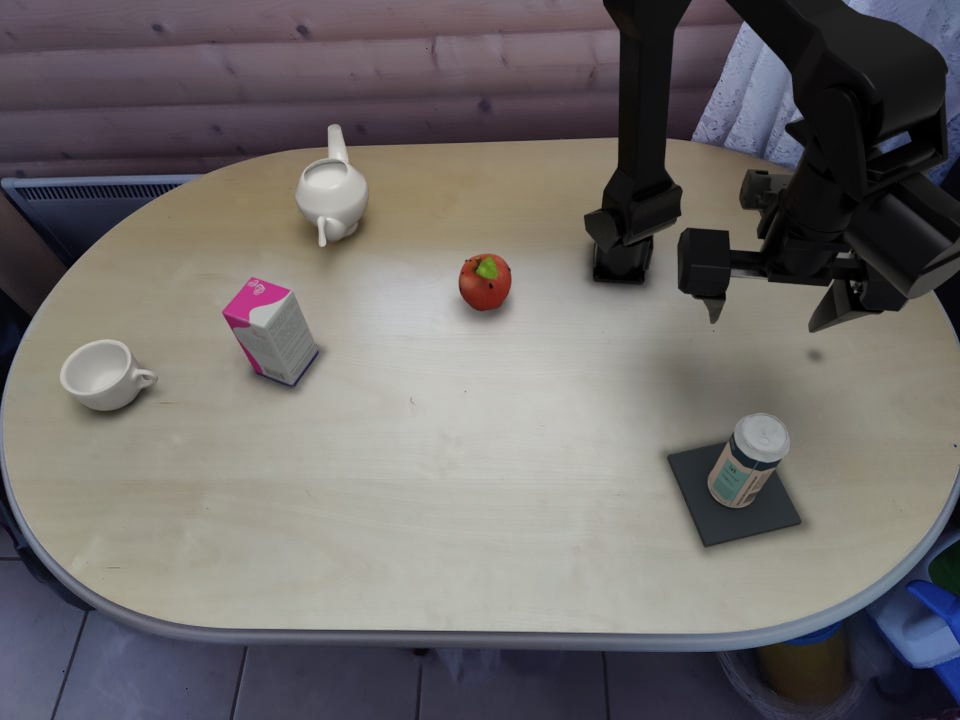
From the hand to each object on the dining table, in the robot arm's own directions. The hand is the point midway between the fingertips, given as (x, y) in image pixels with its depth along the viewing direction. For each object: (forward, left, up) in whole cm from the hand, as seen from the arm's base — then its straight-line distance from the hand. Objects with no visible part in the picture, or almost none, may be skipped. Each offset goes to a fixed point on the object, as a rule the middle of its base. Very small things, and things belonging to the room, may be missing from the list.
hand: (760, 324), depth 66 cm
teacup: (-69, -7, -13) cm, 71 cm away
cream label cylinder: (-1, -12, -12) cm, 17 cm away
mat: (0, -12, -13) cm, 17 cm away
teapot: (-50, +22, -13) cm, 57 cm away
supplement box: (-51, -1, -13) cm, 53 cm away
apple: (-28, +10, -13) cm, 33 cm away
